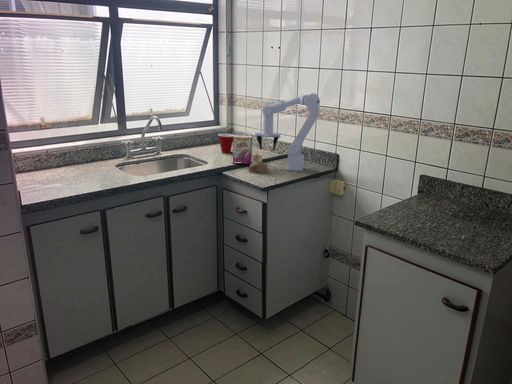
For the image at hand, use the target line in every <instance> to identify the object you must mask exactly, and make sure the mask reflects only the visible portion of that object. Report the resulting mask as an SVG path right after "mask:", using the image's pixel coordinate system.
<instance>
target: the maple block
mask: <svg viewBox="0 0 512 384" xmlns="http://www.w3.org/2000/svg"><path fill="white" fill-rule="evenodd" d="M262 163H263V152H252V163H251V164H252V165H256V166H261V165H262Z"/></svg>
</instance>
